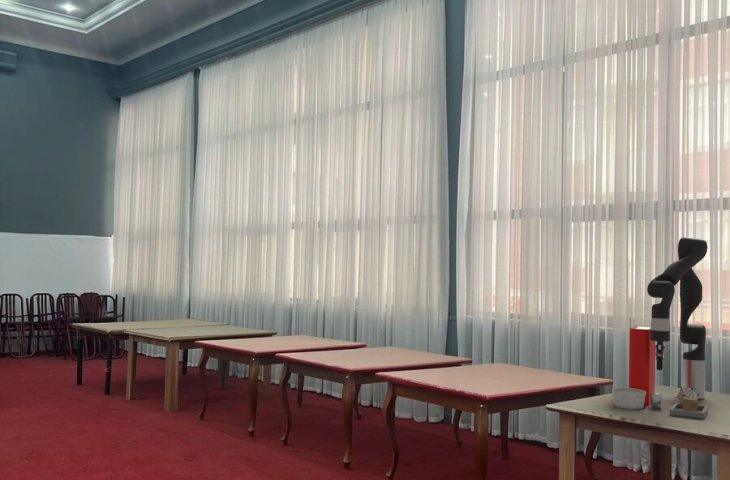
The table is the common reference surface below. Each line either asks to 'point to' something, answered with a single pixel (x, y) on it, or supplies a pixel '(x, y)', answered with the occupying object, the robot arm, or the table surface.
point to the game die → (686, 393)
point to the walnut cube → (690, 404)
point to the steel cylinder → (655, 401)
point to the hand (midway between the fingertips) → (659, 368)
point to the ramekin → (628, 398)
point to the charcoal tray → (688, 412)
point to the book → (642, 361)
